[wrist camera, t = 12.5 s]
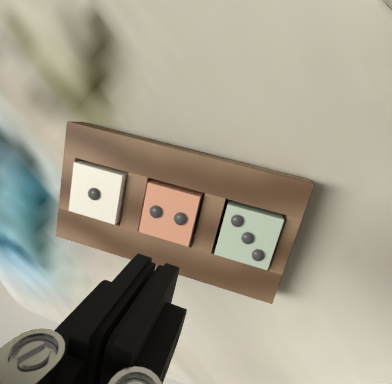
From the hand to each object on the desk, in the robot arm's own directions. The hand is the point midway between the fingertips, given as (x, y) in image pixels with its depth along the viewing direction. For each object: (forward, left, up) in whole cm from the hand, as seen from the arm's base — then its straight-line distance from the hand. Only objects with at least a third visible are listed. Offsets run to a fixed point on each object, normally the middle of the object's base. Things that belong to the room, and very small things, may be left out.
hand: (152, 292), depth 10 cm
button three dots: (+3, +4, -18) cm, 18 cm away
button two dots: (+3, -3, -18) cm, 18 cm away
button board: (+3, -3, -18) cm, 18 cm away
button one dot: (+3, -11, -18) cm, 21 cm away
